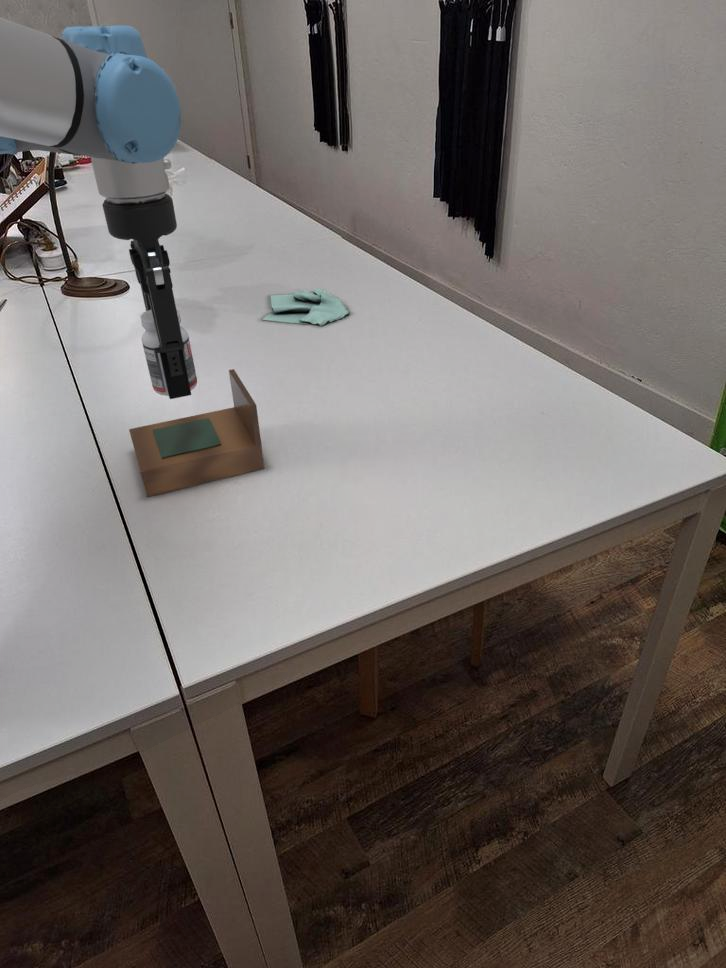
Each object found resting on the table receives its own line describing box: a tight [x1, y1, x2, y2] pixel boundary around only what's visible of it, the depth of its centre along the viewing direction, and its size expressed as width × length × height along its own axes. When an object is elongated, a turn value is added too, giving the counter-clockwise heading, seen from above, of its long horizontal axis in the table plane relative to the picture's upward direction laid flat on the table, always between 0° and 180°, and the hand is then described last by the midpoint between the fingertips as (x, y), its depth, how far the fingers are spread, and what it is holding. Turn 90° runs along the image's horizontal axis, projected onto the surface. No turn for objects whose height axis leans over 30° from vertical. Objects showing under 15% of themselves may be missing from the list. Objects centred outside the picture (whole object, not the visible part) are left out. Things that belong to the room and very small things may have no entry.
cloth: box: [262, 287, 350, 327], centre depth 142 cm, size 20×22×2 cm
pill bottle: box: [140, 308, 198, 397], centre depth 83 cm, size 6×6×10 cm
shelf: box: [128, 368, 265, 498], centre depth 90 cm, size 16×12×10 cm
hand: (175, 385), depth 85 cm, fingers closed on pill bottle, 6 cm apart
